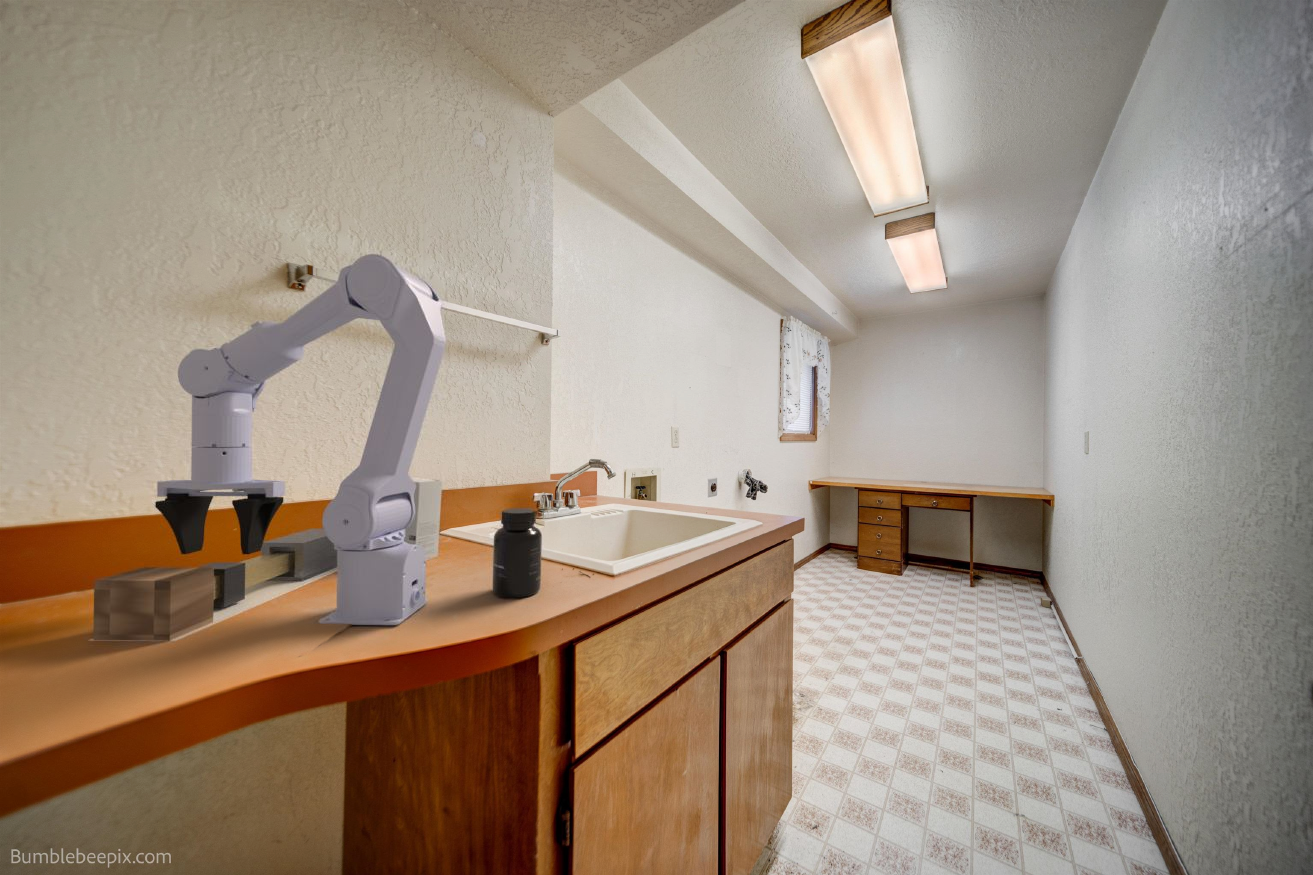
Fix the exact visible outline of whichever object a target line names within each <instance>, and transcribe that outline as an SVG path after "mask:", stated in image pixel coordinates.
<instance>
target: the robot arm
mask: <svg viewBox="0 0 1313 875" xmlns="http://www.w3.org/2000/svg"><path fill="white" fill-rule="evenodd" d="M443 303H444V302H443V301H442V300H441V298H440V297H439V295H438V294H437V292H436V291H435V290H434V288H433V287H432V286H431V285H430V284H429V283H428V282H426V281H425V280H423V279H421V278H418V277H417V276H415V275H414V274H411V273H410V272H409V271H406V270H405V269H404V268H402V267H400V266H398V265H397V264H396V263H394V262H393V261H392V260H390V259H389V258H387V256H384V255H380V254H375V253H370V254H365V255H363V256H360V257H359V258H357V259H356V260H355V261H354V262H353V263H352V264H350V265H349V264H348V265H347V266H345V267H342V268H341V269H340V271H339V275H338V277H337V281H336V282H335V283H334V284H333V285H331V286H330V287H329V288H327V289H326V290H325V291H323V292H322V293H320V294H319V295H318V296H316V297H315V298H314V299H312V300H311V301H310V302H308V303H307V304H305V305H304V306H302V307H301V308H299V310H297V311H296V312H294V313H293V314H292V315H290V316H288V318H286V319H285V320H283V321H282V322H277V321H274V320H264V321H260V320H257V321H255V322H254V323H252V324H251V325H250V327H251V328H250V329H248V330H247V331H245V332H244V333H242V334H240V335H238V336H237V337H235V338H234V339H233V340H230V341H229V342H225V343H223V344H221V346H220V347H214V348H212V349H204V348H197V349H192V350H191V351H189V353H188V354H187V355H185V356H184V357H183V358H182V359H181V361H180V363H179V364H178V368H177V379H178V382H179V384H180V386H181V389H183V390H184V391H185V392H186V393H188V394H189V395H191V442H190V443H191V445H190V446H191V457H190V458H191V460H190V462H191V465H190V468H191V469H190V470H191V471H190V472H191V474H190V475H191V476H190V479H185V480H183V479H181V480H180V479H179V480H177V479H176V480H175V479H173V480H163V481H162V480H160V481H157V484H156V485H157V486H156V490H157V491H156V493H157V494H156V497H159V498H160V497H161V498H162V497H163V498H164V500H157V501H155V502H154V506H155V508H156V510H158V512H160V513H161V514H162V515H163V518H164V519H165V521H167V523H168V524H169V527H170V528H171V530H172V532H173V534H174V537H175V539H176V542H177V544H178V547H179V550H180V553H181V555H189V554H193V553H197V552H200V551H202V549H203V546H204V542H205V541H204V540H205V528H206V526H205V525H206V520H207V515H208V511H209V510H210V506H211V503H212V501H213V499H214V497H246V498H241V499H233V500H231V504H232V506H233V508H234V511H235V513H236V517H237V519H238V526H239V530H240V532H239V534H240V550H241V553H242V555H251V554H255V553H258V552H261V547H262V544H263V542H265V537H266V534H267V531H268V529H269V527H270V525H271V523H272V521H273V518H274V517H275V515H276V514H277V512H278V510H279V509H280V507H281V506H282V505H283V503H284V497H283V496H285V495H286V481H285V480H267V479H255V478H253V475H252V474H253V473H252V472H253V469H252V467H253V465H252V464H253V463H252V462H253V447H252V446H253V413H254V412H255V409H257V400H258V398H259V396H260V395H261V394H262V392H263V391H264V388H265V386H266V385H265V384H266V381H268V380H269V379H271V378H272V377H274V376H275V375H277V374H279V373H280V372H282V371H284V370H285V369H287V368H289V367H290V366H292V365H293V364H295V363H297V362H299V361H300V360H302V359H303V358H304V356H305V346H307V344H309V343H312V342H314V341H316V340H317V339H319V338H321V337H323V336H326V335H327V334H329V333H331V332H333V331H335V330H337V329H339V328H340V327H343V326H344V325H346V324H349V323H351V322H353V321H355V320H356V319H363V320H364V319H365V320H373V321H379V322H380V324H381V325H382V327H383V328H384V329H385V331H386V333H387V334H388V336H390V338H391V340H392V341H393V343H394V346H393V350H392V353H391V356H390V359H389V360H390V361H389V364H388V367H387V370H386V374H385V376H384V377H385V378H384V381H383V384H382V388H381V390H380V394H379V398H378V401H377V405H376V407H375V410H374V411H375V412H374V415H373V418H372V420H371V425H370V428H369V431H368V435H367V438H366V442H365V445H364V449H363V453H362V456H361V458H360V463H359V465H358V466H357V467H356V468H355V469H354V470H353V471H352V472H351V473H349V475H347V476H346V477H345V478H344V479H343V480H342V481H341V482H340V484H339V488H338V491H337V493H336V495H335V497H334V498H333V499H332V500H331V501H330V502H328V504H327V505H326V507H325V509H324V511H323V515H322V520H321V521H322V529H324V532H325V534H326V536H327V537H328V539H329V540H330V541H331V542H332V543H334V549H335V550H337V571H336V607H335V609H336V610H335V611H333V612H331V613H329V614H327V615H326V616H324V617H322V618H321V619H318V624H328V625H329V624H331V625H332V624H341V625H342V624H344V625H345V624H346V625H347V624H349V625H351V626H356V625H357V626H397V625H400V624H401V623H402V622H404V621H405V620H406V619H408V618H409V617H411V616H412V615H413V614H414V613H416V612H418V610H420V609H421V608H422V607H424V606H425V605H426V604H428V602H429V600H428V598H426V578H427V577H426V574H427V569H426V566H427V562H426V561H427V560H426V557H425V552H424V550H423V548H422V547H421V546H419V545H413V544H408V543H406V542H404V538H405V529H407V528H408V527H409V526H410V525H411V523H412V521H413V519H414V516H415V504H414V492H415V489H416V484H415V483H414V481H413V480H412V479H411V476H410V473H409V472H410V468H411V465H412V462H413V458H414V454H415V451H416V447H417V444H418V441H419V438H420V434H421V431H422V429H423V428H422V427H423V423H424V420H425V417H426V414H427V410H428V408H429V404H430V400H431V396H432V394H433V390H434V387H435V383H436V380H437V377H438V373H439V370H440V366H441V363H442V359H443V357H444V353H445V349H446V345H447V344H446V343H447V339H446V338H447V337H446V334H445V333H446V332H445V329H444V323H443V319H442V313H441V311H442V308H443V305H444V304H443ZM217 490H219V491H217ZM221 490H223V491H221ZM224 490H226V491H224ZM227 490H231V491H227Z"/></svg>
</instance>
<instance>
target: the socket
mask: <svg viewBox="0 0 1313 875" xmlns="http://www.w3.org/2000/svg"><path fill="white" fill-rule="evenodd" d="M93 584H94V585H93V634H92V636H93V637H92V639H93V640H143V641H142V642H171V641H170V640H173V639H175V638H177V637H180V636H182V635H184V634H187V633H189V632H191V631H194V630H196V629H198V628H201V627H203V626H205V625H208V624H210V623H212V622H213V603H214V568H197V567H176V566H175V567H173V566H171V567H169V566H168V567H167V566H166V567H163V566H162V567H161V566H160V567H159V566H156V567H155V566H153V567H152V566H148V567H147V566H144V567H141V568H136V569H131V570H128V571H125V572H121V573H116V574H113V575H110V576H109V575H108V576H106V577H102V578H97V579H94V581H93Z"/></svg>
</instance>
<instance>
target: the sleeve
mask: <svg viewBox="0 0 1313 875" xmlns="http://www.w3.org/2000/svg"><path fill="white" fill-rule="evenodd" d="M274 551H295V570H292V571H289V572H287V573H284V574H281V575H279V576H276V577H273V578H271V579H268V580H265V581H305V580H307V579H310V578H312V577H314V576H317V575H319V574H322V573H324V572H326V571H329V570H331V569H334V568H336V567H337V550H335V549H334V543H332V542H331V541H330V540H329V539H328V537H327V536H326V534H325V532H324V529H323V528H309V529H306V530H302V531H299V532H295V533H292V534H287V535H285V536H284V535H283V536H282V537H277V538H273V539H270V540H267V541H265V540H264V541H263V544H262V547H261V551H260V552H261V553H260V556H261V555H265V554H268V553H271V552H274Z"/></svg>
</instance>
